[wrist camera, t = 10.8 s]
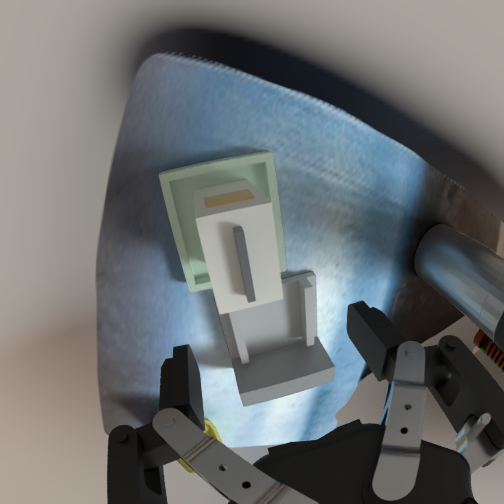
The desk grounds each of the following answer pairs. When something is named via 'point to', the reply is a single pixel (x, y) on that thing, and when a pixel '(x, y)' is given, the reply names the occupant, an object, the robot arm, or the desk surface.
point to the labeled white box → (238, 245)
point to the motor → (490, 348)
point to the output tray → (205, 175)
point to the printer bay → (278, 344)
